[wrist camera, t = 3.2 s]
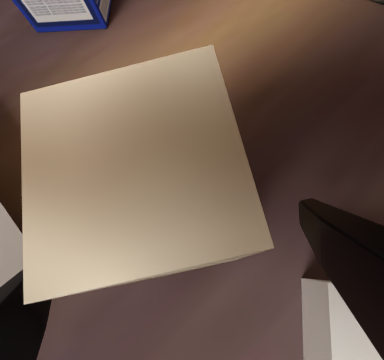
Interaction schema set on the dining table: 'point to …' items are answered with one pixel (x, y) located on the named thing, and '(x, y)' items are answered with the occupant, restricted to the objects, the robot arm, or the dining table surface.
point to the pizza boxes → (9, 247)
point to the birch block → (134, 178)
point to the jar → (379, 1)
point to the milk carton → (65, 14)
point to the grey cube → (331, 326)
